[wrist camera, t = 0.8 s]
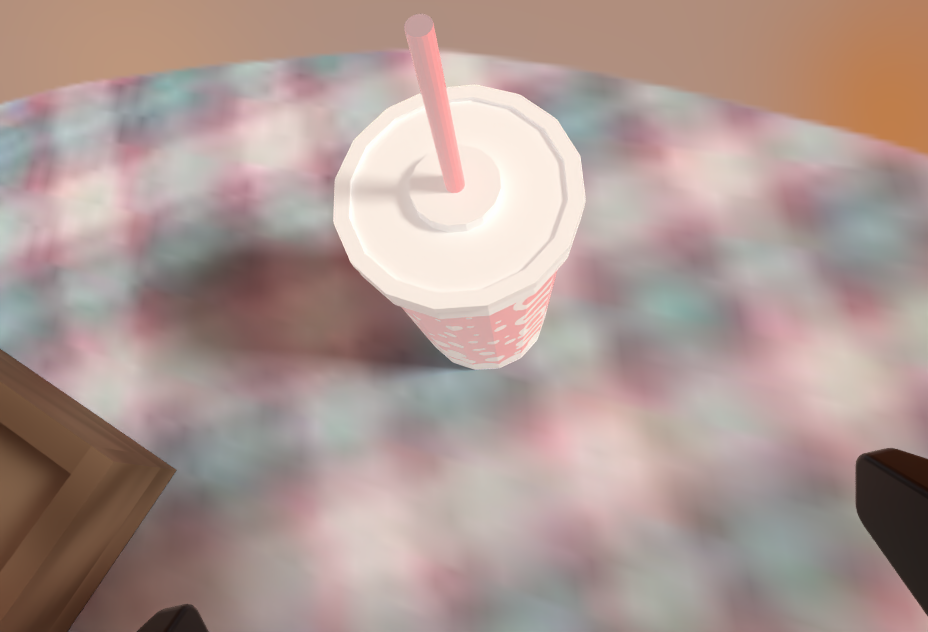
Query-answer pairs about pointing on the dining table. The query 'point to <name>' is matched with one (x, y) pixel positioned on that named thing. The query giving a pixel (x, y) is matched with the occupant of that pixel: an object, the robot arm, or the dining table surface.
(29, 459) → the wooden compartment tray
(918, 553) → the robot arm
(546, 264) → the beverage cup
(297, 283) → the dining table surface
